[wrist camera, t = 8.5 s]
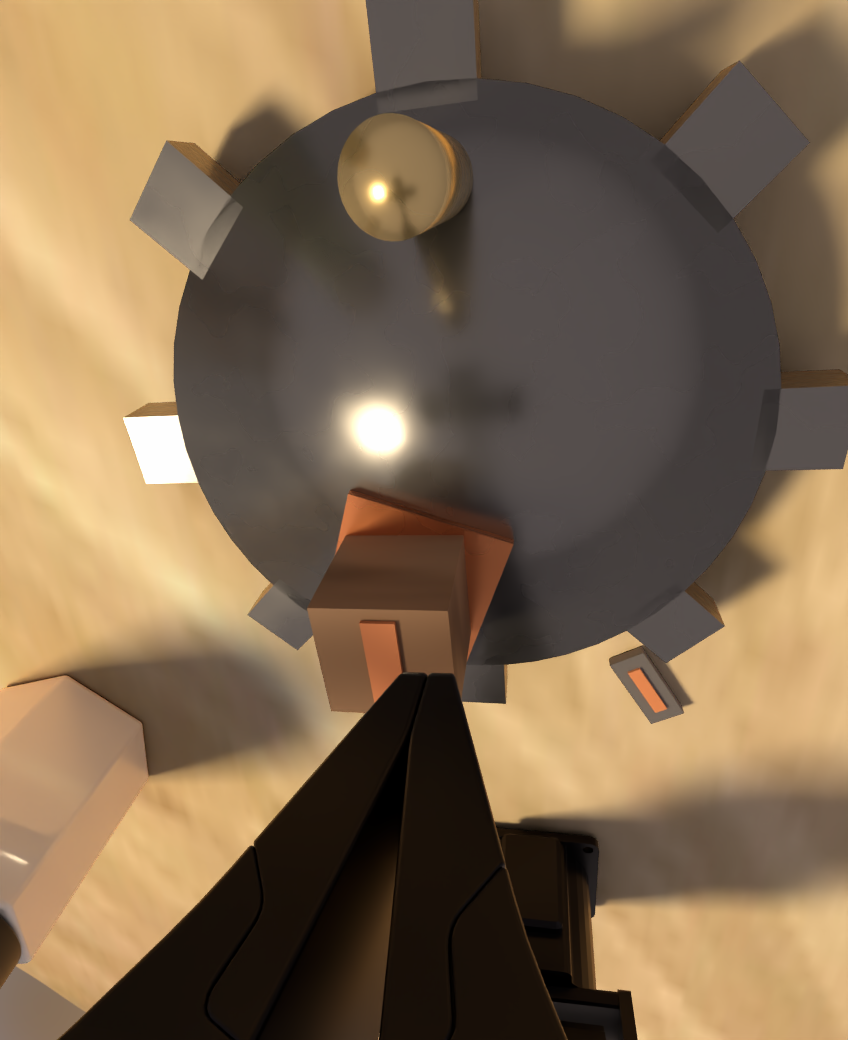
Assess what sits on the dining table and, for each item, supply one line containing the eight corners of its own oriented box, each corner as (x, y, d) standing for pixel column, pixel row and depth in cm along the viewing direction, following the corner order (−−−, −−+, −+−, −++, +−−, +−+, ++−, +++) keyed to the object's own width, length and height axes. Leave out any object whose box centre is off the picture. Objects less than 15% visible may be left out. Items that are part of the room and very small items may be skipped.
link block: (471, 631, 22) (458, 720, 18) (363, 628, 22) (330, 713, 19) (463, 535, 20) (447, 613, 16) (345, 535, 20) (305, 610, 17)
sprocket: (766, 686, 23) (839, 851, 17) (233, 665, 27) (155, 792, 21) (947, -98, 12) (1278, -319, 7) (36, 61, 17) (-218, 3, 11)
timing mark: (682, 705, 25) (684, 715, 25) (649, 716, 26) (651, 725, 25) (641, 646, 24) (643, 654, 23) (608, 658, 24) (610, 667, 24)
